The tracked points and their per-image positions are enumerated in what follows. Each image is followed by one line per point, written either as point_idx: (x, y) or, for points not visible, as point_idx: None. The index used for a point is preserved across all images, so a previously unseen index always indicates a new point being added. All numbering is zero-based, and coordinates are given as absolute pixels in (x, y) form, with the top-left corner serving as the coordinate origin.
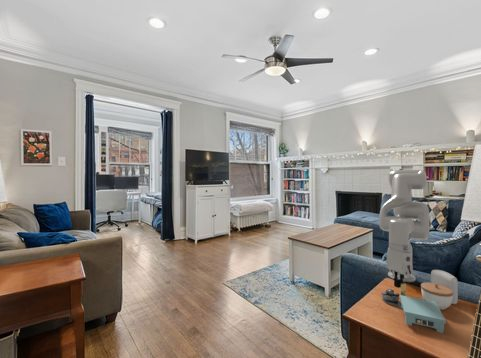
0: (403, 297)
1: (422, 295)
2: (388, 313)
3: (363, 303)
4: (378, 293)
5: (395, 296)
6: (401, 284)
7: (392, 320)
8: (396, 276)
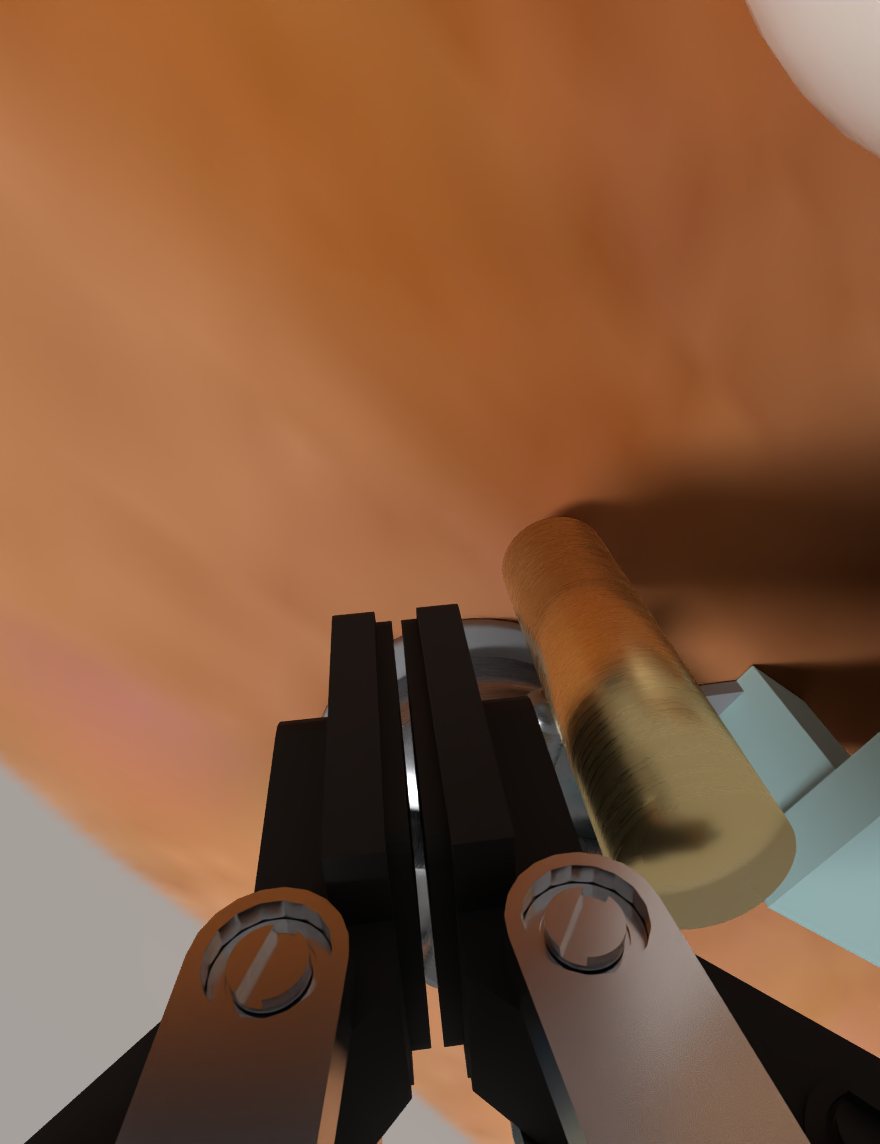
0: (877, 906)
1: (874, 152)
2: (748, 956)
3: (452, 1086)
4: (154, 780)
5: (574, 805)
6: (689, 916)
7: (874, 989)
8: (398, 1104)
